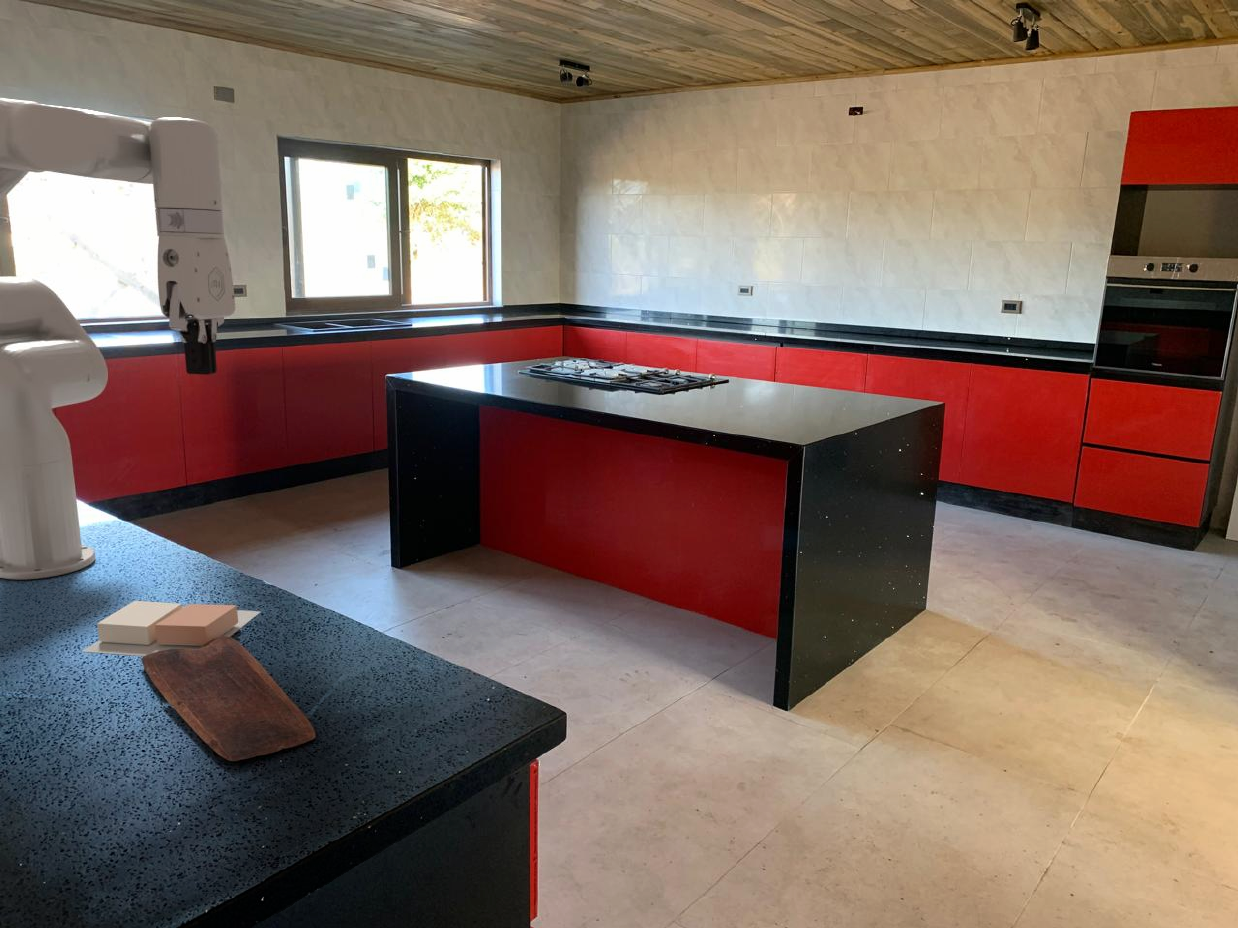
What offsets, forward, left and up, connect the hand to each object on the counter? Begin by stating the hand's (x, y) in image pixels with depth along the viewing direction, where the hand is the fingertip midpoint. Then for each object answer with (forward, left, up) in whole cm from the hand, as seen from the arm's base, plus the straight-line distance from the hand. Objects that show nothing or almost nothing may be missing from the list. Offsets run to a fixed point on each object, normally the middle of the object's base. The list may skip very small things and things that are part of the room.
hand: (201, 373), depth 116 cm
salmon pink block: (+6, -13, -27) cm, 31 cm away
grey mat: (+3, -15, -29) cm, 33 cm away
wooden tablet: (+17, -30, -29) cm, 45 cm away
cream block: (0, -13, -28) cm, 30 cm away
